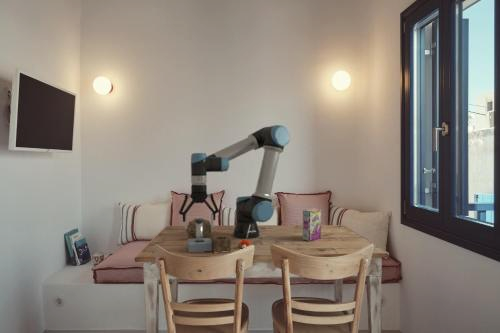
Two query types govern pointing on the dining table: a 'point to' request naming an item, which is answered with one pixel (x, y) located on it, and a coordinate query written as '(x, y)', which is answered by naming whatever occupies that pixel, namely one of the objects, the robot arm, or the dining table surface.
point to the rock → (192, 228)
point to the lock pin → (199, 230)
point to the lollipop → (245, 242)
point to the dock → (199, 245)
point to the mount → (221, 243)
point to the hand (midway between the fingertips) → (199, 227)
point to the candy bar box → (311, 224)
